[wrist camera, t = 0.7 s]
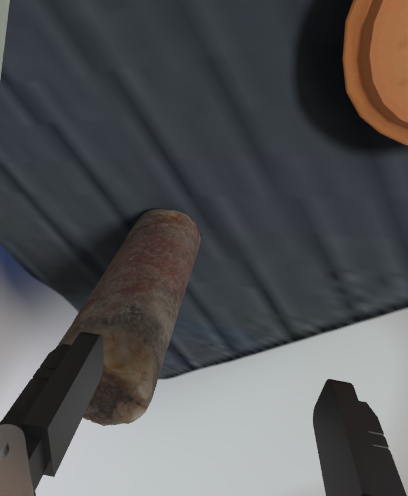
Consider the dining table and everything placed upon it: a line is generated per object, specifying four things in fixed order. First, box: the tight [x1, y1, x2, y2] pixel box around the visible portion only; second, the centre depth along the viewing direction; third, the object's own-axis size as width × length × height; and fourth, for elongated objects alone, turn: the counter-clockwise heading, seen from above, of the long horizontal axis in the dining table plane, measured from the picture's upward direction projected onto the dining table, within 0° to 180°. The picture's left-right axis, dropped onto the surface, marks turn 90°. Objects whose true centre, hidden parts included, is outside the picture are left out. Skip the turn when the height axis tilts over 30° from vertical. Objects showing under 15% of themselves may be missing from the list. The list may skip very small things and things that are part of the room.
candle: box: [56, 209, 201, 426], centre depth 30 cm, size 8×7×20 cm
